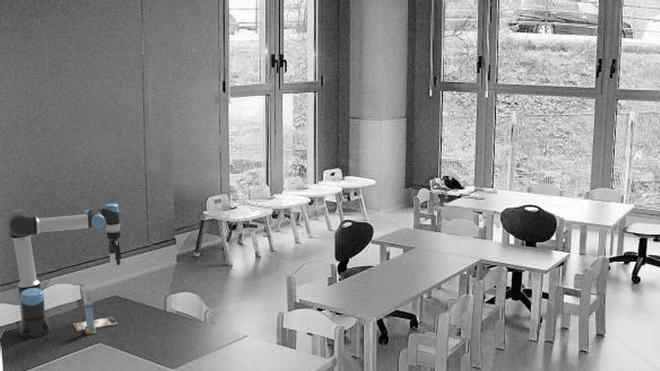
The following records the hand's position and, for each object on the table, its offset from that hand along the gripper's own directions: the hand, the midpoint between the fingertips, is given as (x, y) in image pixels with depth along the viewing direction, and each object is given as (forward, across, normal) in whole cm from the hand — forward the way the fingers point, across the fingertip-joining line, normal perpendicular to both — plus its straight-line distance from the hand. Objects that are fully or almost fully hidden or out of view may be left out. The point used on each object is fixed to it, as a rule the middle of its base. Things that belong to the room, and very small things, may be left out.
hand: (115, 267), depth 462 cm
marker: (+25, -26, +21) cm, 42 cm away
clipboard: (+27, -15, +16) cm, 35 cm away
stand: (+27, -26, +21) cm, 43 cm away
